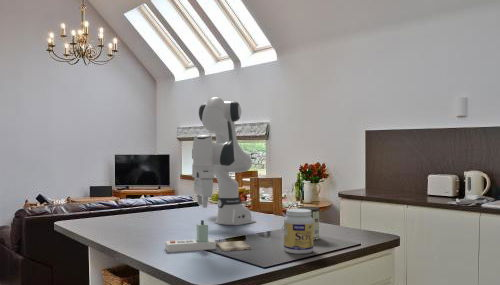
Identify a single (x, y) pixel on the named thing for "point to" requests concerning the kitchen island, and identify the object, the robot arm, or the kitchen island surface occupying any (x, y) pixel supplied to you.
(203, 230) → the grey-green tall block
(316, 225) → the coffee can
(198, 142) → the robot arm
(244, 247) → the coaster
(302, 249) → the supplement tub
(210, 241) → the power strip
